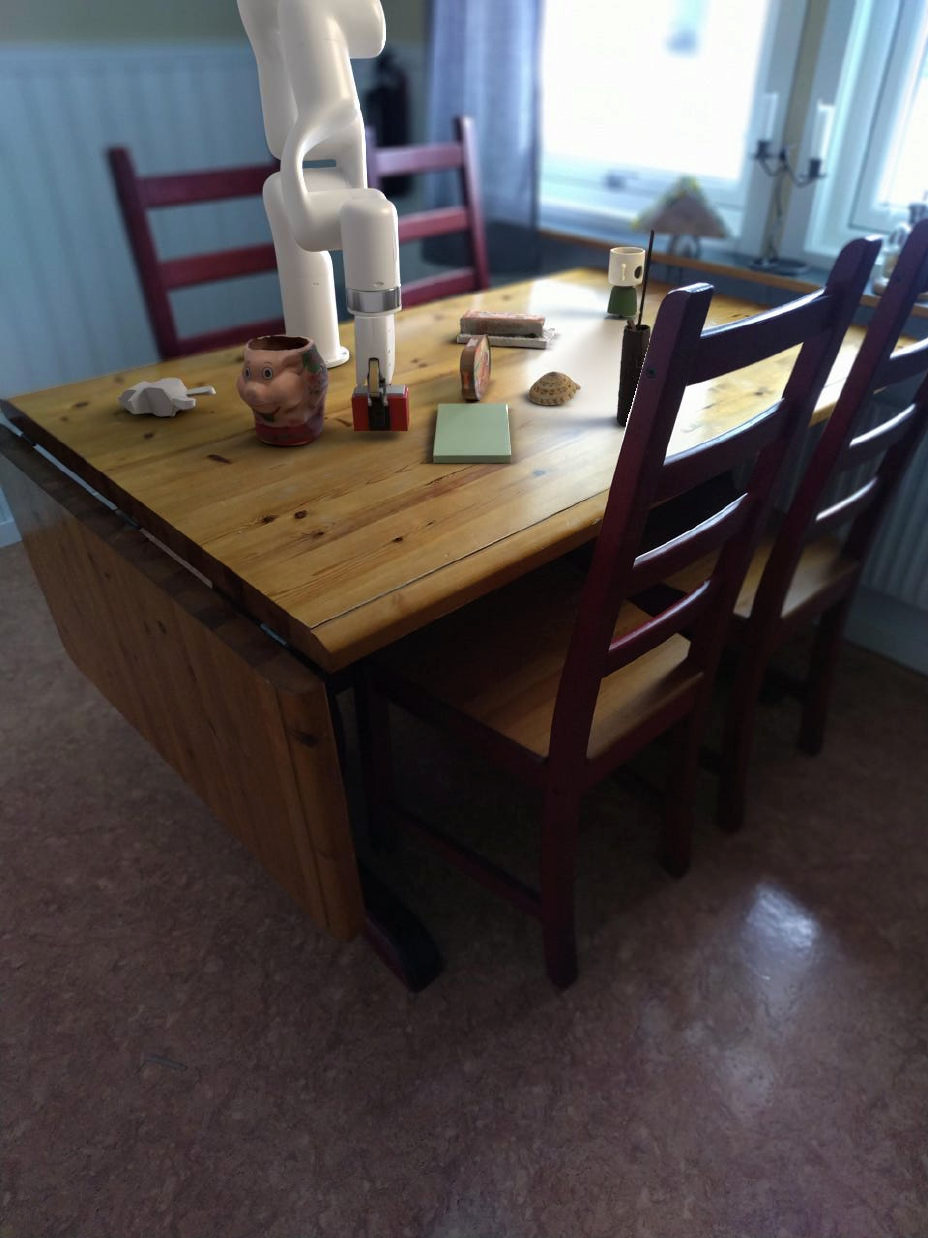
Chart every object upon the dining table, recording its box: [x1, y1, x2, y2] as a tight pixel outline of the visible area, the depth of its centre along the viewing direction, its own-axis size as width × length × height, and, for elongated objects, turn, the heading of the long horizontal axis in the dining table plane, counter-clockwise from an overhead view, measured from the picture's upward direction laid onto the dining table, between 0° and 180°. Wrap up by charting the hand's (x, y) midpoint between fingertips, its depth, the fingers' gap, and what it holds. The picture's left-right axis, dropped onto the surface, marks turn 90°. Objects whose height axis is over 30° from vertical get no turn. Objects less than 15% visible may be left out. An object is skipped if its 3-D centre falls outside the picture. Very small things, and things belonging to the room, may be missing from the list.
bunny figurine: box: [117, 377, 217, 418], centre depth 136 cm, size 10×5×15 cm
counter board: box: [432, 403, 512, 464], centre depth 128 cm, size 11×20×1 cm, turn 179°
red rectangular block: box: [350, 384, 410, 432], centre depth 127 cm, size 4×8×6 cm, turn 89°
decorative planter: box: [236, 334, 330, 446], centre depth 127 cm, size 20×12×14 cm, turn 168°
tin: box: [459, 334, 492, 401], centre depth 142 cm, size 15×3×8 cm, turn 168°
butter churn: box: [616, 229, 655, 428], centre depth 125 cm, size 9×10×28 cm
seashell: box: [527, 371, 582, 406], centre depth 141 cm, size 8×6×8 cm
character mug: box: [606, 246, 646, 318], centre depth 177 cm, size 11×7×13 cm, turn 161°
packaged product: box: [456, 310, 556, 349], centre depth 166 cm, size 18×5×10 cm
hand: (381, 421), depth 128 cm, fingers closed on red rectangular block, 4 cm apart
